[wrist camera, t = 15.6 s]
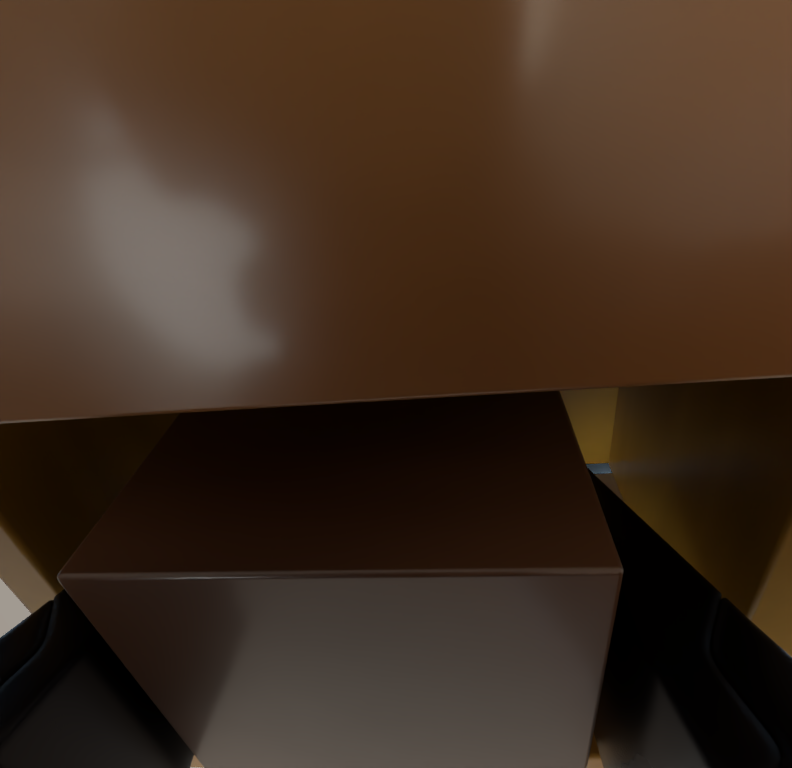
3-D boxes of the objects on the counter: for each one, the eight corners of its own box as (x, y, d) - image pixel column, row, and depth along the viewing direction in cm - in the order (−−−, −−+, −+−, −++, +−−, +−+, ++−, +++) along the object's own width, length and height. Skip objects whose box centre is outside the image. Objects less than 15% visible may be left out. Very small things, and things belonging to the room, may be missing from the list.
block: (531, 307, 8) (626, 570, 4) (526, 520, 11) (580, 812, 6) (240, 331, 9) (51, 577, 4) (304, 525, 11) (222, 794, 7)
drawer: (625, 591, 16) (722, 873, 11) (269, 593, 18) (188, 836, 12) (757, -85, 7) (1753, -559, 2) (33, 44, 9) (-639, 8, 3)
